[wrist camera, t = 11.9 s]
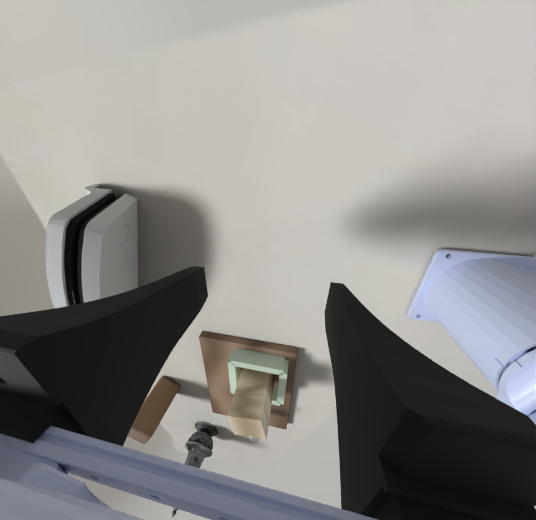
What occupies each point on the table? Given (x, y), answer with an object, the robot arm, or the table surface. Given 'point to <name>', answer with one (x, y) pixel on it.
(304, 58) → the table surface
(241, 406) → the maple peg
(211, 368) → the walnut board
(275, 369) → the socket collar
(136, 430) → the wooden block
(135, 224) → the white rounded block
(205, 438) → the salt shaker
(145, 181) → the table surface
